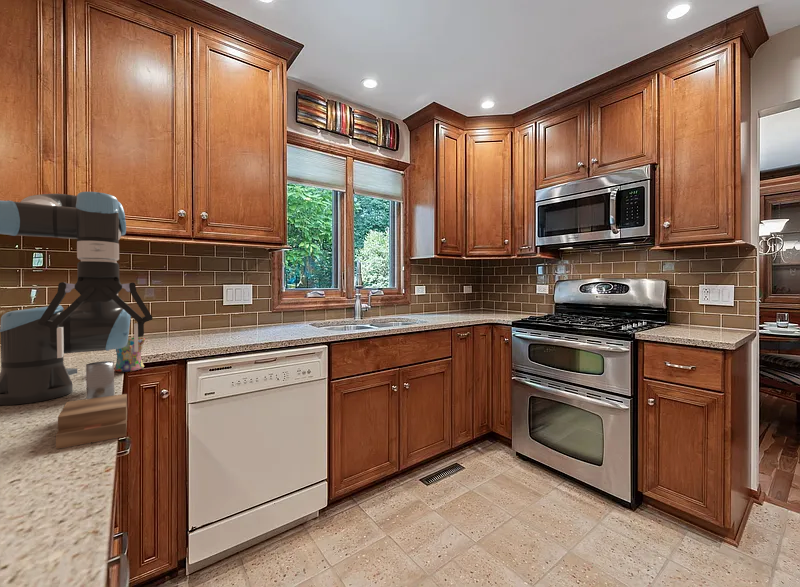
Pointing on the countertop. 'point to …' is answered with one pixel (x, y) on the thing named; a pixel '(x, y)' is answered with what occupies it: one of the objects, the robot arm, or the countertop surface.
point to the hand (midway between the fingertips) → (100, 354)
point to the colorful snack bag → (129, 357)
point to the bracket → (71, 370)
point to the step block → (92, 420)
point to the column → (100, 379)
